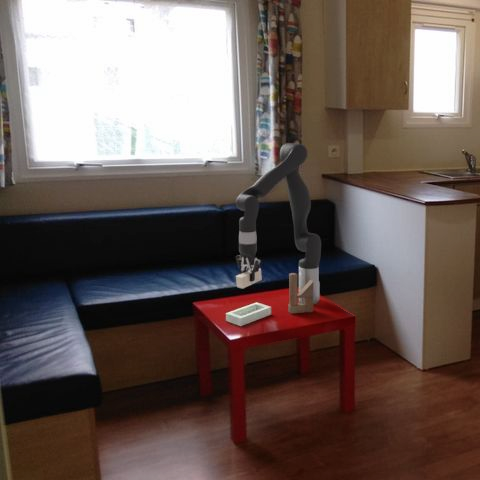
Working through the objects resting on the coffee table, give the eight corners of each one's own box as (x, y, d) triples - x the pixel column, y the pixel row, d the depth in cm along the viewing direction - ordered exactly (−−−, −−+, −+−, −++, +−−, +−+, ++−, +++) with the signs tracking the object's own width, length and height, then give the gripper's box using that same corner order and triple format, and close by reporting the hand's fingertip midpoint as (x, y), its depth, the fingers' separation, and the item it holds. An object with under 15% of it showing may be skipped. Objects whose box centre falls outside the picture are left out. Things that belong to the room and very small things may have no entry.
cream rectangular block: (256, 277, 235) (255, 267, 234) (261, 279, 233) (260, 268, 232) (236, 287, 228) (235, 276, 226) (242, 288, 225) (241, 277, 224)
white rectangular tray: (256, 309, 243) (256, 302, 242) (271, 314, 237) (271, 306, 236) (226, 320, 230) (225, 313, 230) (240, 326, 224) (240, 318, 223)
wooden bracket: (313, 311, 239) (313, 273, 235) (290, 314, 237) (290, 275, 233) (310, 309, 242) (310, 271, 238) (288, 311, 240) (287, 273, 236)
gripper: (266, 242, 223) (266, 281, 227) (242, 237, 233) (243, 275, 237) (253, 245, 218) (254, 285, 222) (230, 240, 228) (230, 279, 232)
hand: (248, 280), depth 230 cm, fingers closed on cream rectangular block, 3 cm apart
